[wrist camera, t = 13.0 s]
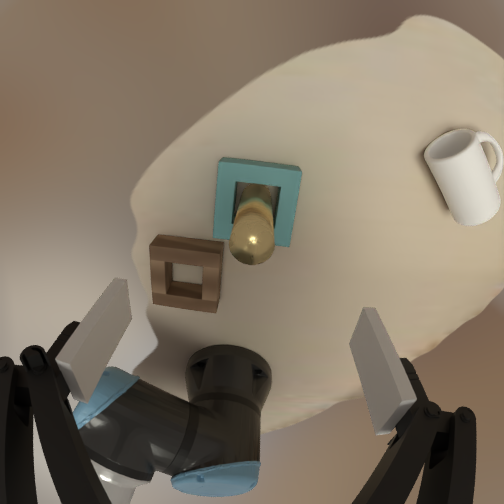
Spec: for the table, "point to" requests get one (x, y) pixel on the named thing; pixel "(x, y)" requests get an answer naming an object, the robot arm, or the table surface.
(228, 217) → the socket block
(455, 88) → the table surface
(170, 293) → the mount block
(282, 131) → the table surface
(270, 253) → the pin
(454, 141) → the mug
